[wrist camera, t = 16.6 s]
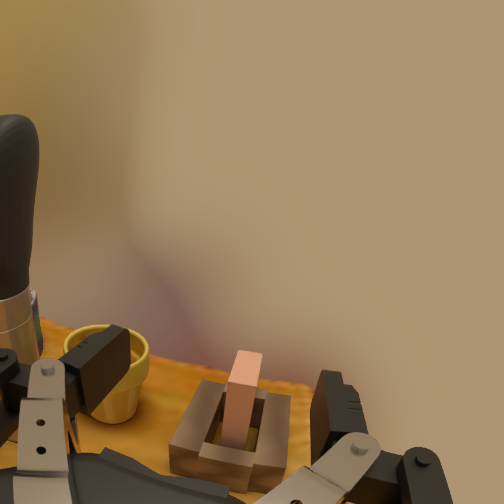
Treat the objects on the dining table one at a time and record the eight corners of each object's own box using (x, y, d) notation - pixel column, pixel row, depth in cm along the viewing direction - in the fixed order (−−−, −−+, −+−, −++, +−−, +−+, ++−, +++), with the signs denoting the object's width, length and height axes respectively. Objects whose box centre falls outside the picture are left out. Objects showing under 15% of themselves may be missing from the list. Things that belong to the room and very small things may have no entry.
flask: (31, 335, 43) (24, 278, 41) (45, 335, 45) (39, 279, 42) (23, 363, 35) (12, 299, 33) (40, 364, 37) (30, 300, 35)
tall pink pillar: (217, 463, 28) (228, 381, 25) (227, 429, 34) (238, 349, 31) (240, 467, 27) (256, 386, 25) (247, 433, 33) (262, 353, 31)
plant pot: (167, 406, 36) (167, 344, 34) (114, 448, 26) (103, 382, 25) (111, 375, 40) (107, 316, 38) (59, 404, 30) (45, 340, 28)
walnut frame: (168, 475, 25) (167, 447, 24) (201, 406, 37) (203, 377, 36) (275, 498, 23) (285, 471, 22) (283, 421, 36) (290, 393, 35)
